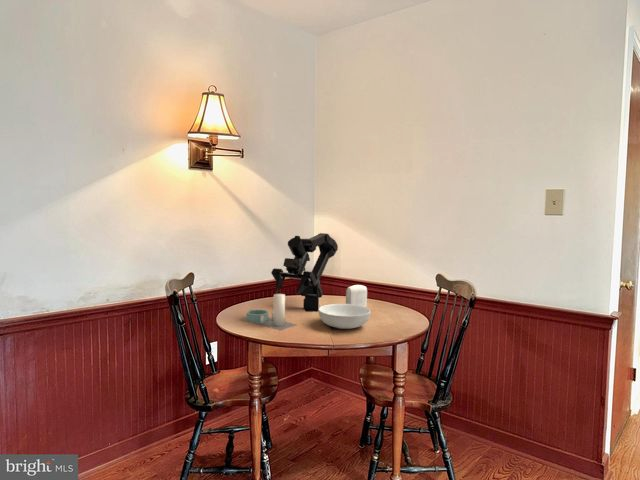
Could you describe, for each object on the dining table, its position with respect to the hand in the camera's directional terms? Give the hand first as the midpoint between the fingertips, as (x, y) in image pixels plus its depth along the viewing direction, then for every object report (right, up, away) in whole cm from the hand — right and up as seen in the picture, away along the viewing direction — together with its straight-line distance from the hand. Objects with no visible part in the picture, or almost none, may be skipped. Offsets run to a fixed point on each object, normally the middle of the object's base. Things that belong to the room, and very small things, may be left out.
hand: (286, 293), depth 179 cm
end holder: (-12, -11, +3) cm, 17 cm away
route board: (-7, -12, -1) cm, 14 cm away
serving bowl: (+23, -13, -2) cm, 27 cm away
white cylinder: (-3, -12, -4) cm, 13 cm away
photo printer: (+30, -11, +21) cm, 38 cm away
